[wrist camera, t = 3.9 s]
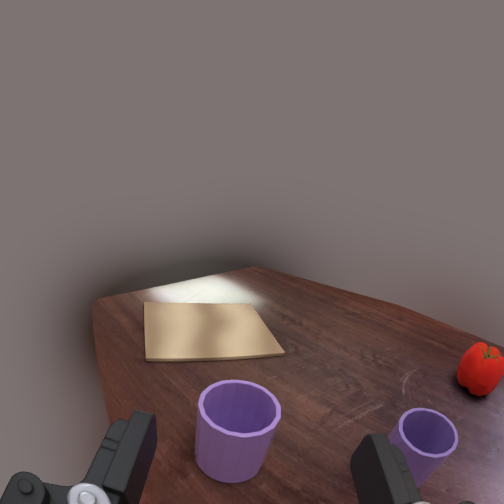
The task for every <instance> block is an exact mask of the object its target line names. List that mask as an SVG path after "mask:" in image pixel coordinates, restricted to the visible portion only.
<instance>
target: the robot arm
mask: <svg viewBox="0 0 504 504" xmlns="http://www.w3.org/2000/svg"><path fill="white" fill-rule="evenodd" d="M156 445H157V429H156V417H155V414H152V413H148V412H144V411H140V410H137V409H135V410H134V412H133V413H132V416H131V418H130V420H129V421H126V420H123V419H118V420H117V421H116V422H115V423H113V424H112V425H111V426H110V427H109V429H108V431H107V433H106V435H105V438H104V439H103V441H102V443H101V446H100V448H99V449H98V451H97V454H96V456H95V457H94V460H93V462H92V464H91V466H90V468H89V470H88V472H87V474H86V476H85V478H84V479H83V480H82V481H81V482H80V483H78V484H76V485H73V486H60V485H54V484H49V483H44V482H42V481H41V480H40V479H39V478H38V477H37V476H36V475H34V474H32V473H29V472H19V473H16V474H14V475H13V476H12V478H11V479H10V481H9V483H8V485H7V487H6V489H5V491H4V493H3V495H2V497H1V499H0V504H139V501H140V498H141V495H142V491H143V488H144V485H145V482H146V479H147V475H148V472H149V469H150V466H151V463H152V460H153V456H154V453H155V450H156ZM350 467H351V472H352V476H353V480H354V484H355V488H356V492H357V496H358V500H359V504H430V503H428V502H423V500H422V499H421V497H420V494H419V491H418V489H417V486H416V484H415V481H414V479H413V476H412V474H411V472H410V469H409V467H408V464H406V459H405V457H404V455H403V452H402V451H401V450H400V449H399V448H398V447H397V446H396V445H395V444H390V441H389V439H388V437H387V435H386V434H384V433H380V434H368V435H366V436H365V437H364V438H363V440H362V441H361V443H360V445H359V446H358V448H357V449H356V451H355V452H354V454H353V455H352V458H351V462H350ZM460 504H474V503H473V502H470V501H464V502H461V503H460Z"/></svg>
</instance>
